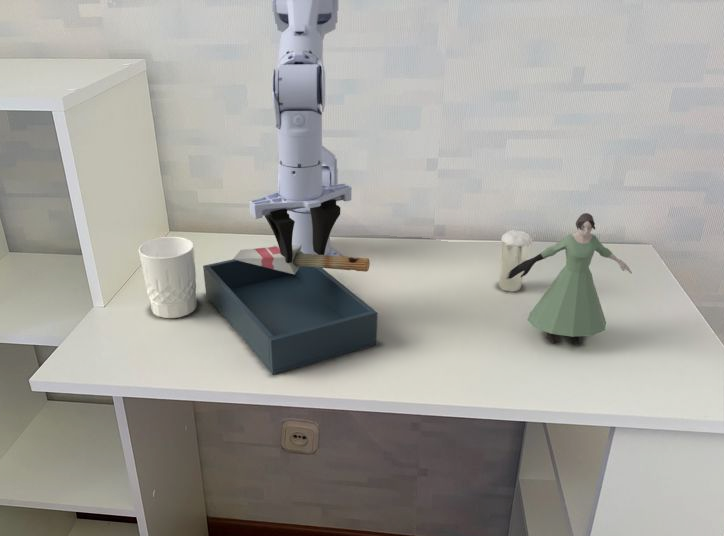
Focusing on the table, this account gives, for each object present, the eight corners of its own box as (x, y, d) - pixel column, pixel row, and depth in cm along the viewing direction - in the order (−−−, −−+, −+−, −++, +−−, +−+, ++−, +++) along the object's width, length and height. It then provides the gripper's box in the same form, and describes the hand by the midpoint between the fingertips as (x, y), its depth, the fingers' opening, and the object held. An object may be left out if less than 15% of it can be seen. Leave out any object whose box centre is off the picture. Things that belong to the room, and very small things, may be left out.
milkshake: (518, 298, 108) (527, 236, 103) (489, 286, 111) (496, 227, 106) (535, 289, 110) (545, 228, 105) (506, 278, 114) (514, 219, 109)
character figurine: (500, 351, 95) (519, 224, 85) (494, 321, 102) (510, 201, 92) (624, 356, 93) (656, 228, 84) (608, 326, 100) (637, 204, 91)
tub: (205, 295, 111) (202, 265, 108) (295, 274, 116) (294, 245, 114) (272, 374, 91) (271, 340, 88) (376, 345, 97) (377, 312, 94)
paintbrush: (240, 239, 104) (371, 249, 97) (243, 255, 105) (372, 267, 98) (229, 251, 101) (362, 263, 94) (232, 268, 103) (364, 281, 96)
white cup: (137, 309, 107) (127, 248, 102) (178, 291, 112) (171, 232, 107) (169, 326, 102) (160, 262, 97) (211, 306, 107) (204, 245, 102)
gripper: (262, 178, 87) (267, 278, 94) (363, 160, 92) (361, 256, 100) (240, 163, 92) (247, 259, 99) (337, 148, 98) (337, 239, 105)
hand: (302, 256), depth 100 cm, fingers closed on paintbrush, 4 cm apart
